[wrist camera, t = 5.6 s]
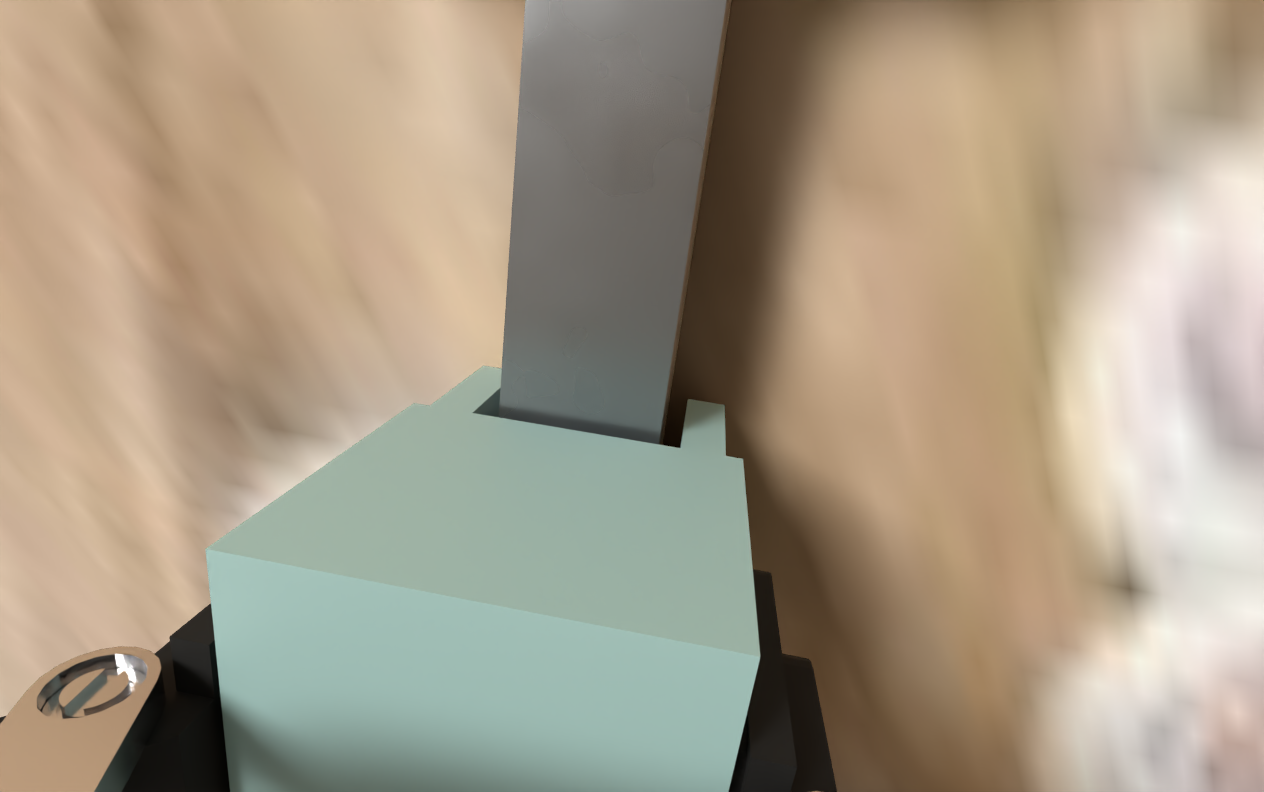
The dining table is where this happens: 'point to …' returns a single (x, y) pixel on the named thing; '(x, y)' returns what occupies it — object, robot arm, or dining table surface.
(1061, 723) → the dining table surface
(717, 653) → the carriage
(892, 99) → the dining table surface
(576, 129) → the rail
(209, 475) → the dining table surface
